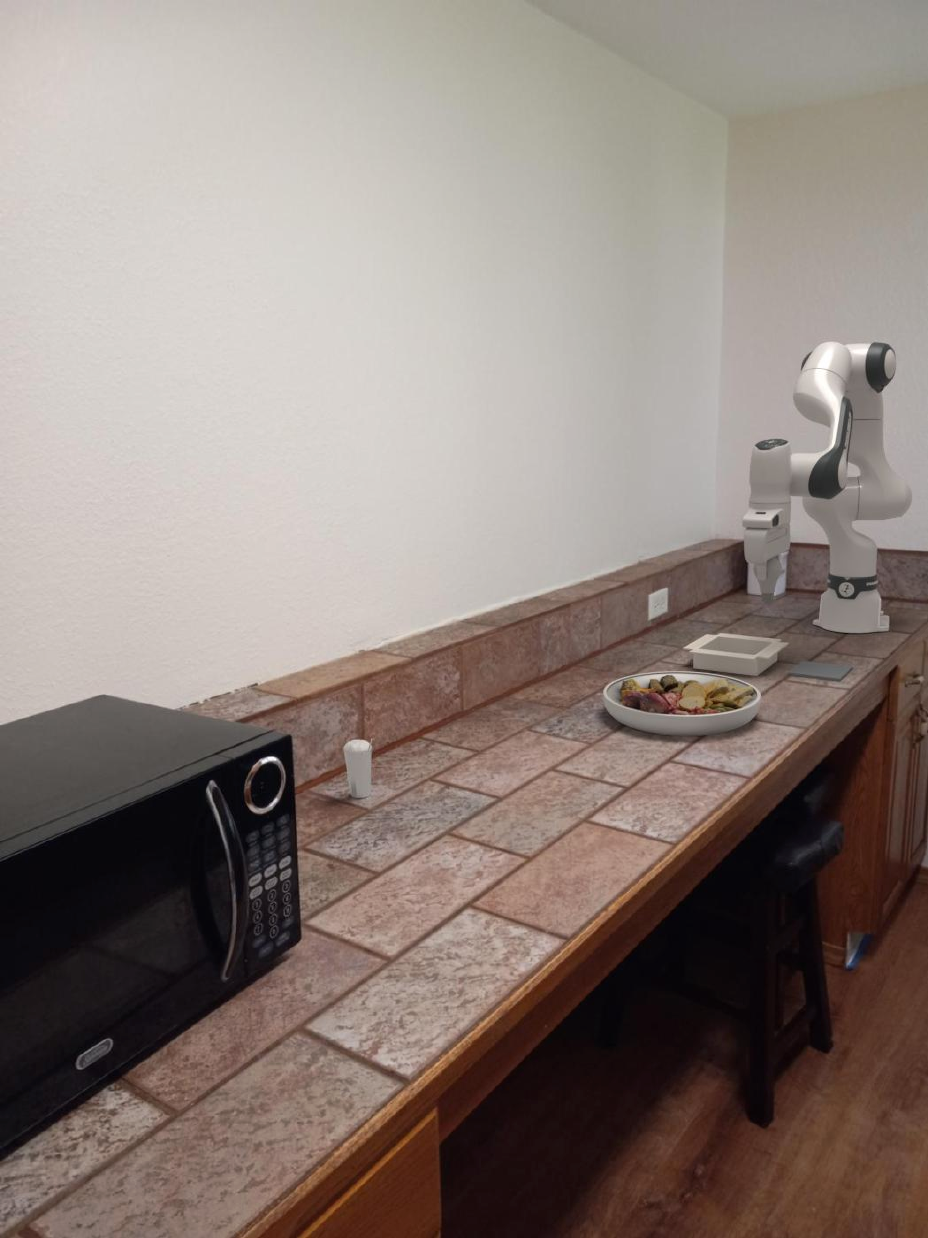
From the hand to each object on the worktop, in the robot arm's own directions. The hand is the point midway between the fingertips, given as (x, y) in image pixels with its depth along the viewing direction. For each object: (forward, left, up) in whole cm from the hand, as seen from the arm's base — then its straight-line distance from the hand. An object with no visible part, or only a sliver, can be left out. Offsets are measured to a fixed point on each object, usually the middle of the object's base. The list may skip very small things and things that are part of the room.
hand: (767, 576), depth 220 cm
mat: (-1, +12, -21) cm, 24 cm away
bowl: (+41, -3, -21) cm, 46 cm away
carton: (+1, -6, -21) cm, 22 cm away
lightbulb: (0, 0, -6) cm, 6 cm away
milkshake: (+103, -32, -21) cm, 110 cm away
